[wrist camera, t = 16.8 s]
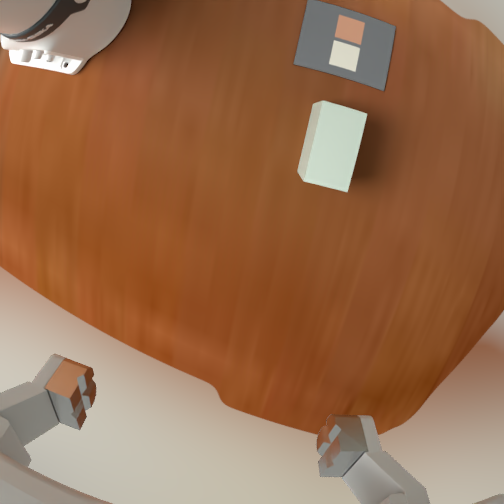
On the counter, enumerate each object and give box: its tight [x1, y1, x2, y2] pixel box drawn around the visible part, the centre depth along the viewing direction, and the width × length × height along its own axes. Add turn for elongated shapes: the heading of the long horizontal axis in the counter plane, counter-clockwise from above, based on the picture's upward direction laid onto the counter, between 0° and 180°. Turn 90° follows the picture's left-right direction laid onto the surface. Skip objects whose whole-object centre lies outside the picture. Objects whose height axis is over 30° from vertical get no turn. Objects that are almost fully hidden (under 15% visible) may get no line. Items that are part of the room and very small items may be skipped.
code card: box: [294, 0, 396, 91], centre depth 33 cm, size 12×10×1 cm
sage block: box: [297, 101, 367, 192], centre depth 35 cm, size 5×9×7 cm, turn 168°
